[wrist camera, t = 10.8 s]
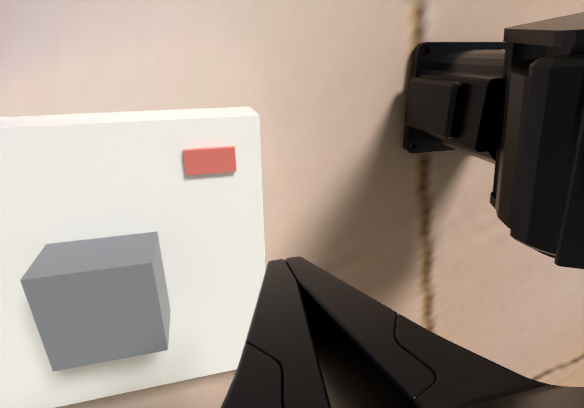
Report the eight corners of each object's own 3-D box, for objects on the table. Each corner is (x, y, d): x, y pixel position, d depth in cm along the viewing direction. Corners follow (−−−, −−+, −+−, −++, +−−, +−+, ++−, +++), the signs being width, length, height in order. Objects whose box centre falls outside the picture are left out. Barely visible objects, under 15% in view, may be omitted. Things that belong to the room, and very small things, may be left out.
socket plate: (250, 106, 20) (260, 116, 17) (260, 330, 26) (269, 366, 23) (-103, 121, 16) (-167, 137, 13) (9, 378, 23) (-18, 427, 20)
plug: (161, 208, 21) (152, 262, 16) (172, 279, 23) (168, 350, 18) (65, 217, 20) (20, 280, 14) (85, 292, 22) (53, 371, 16)
